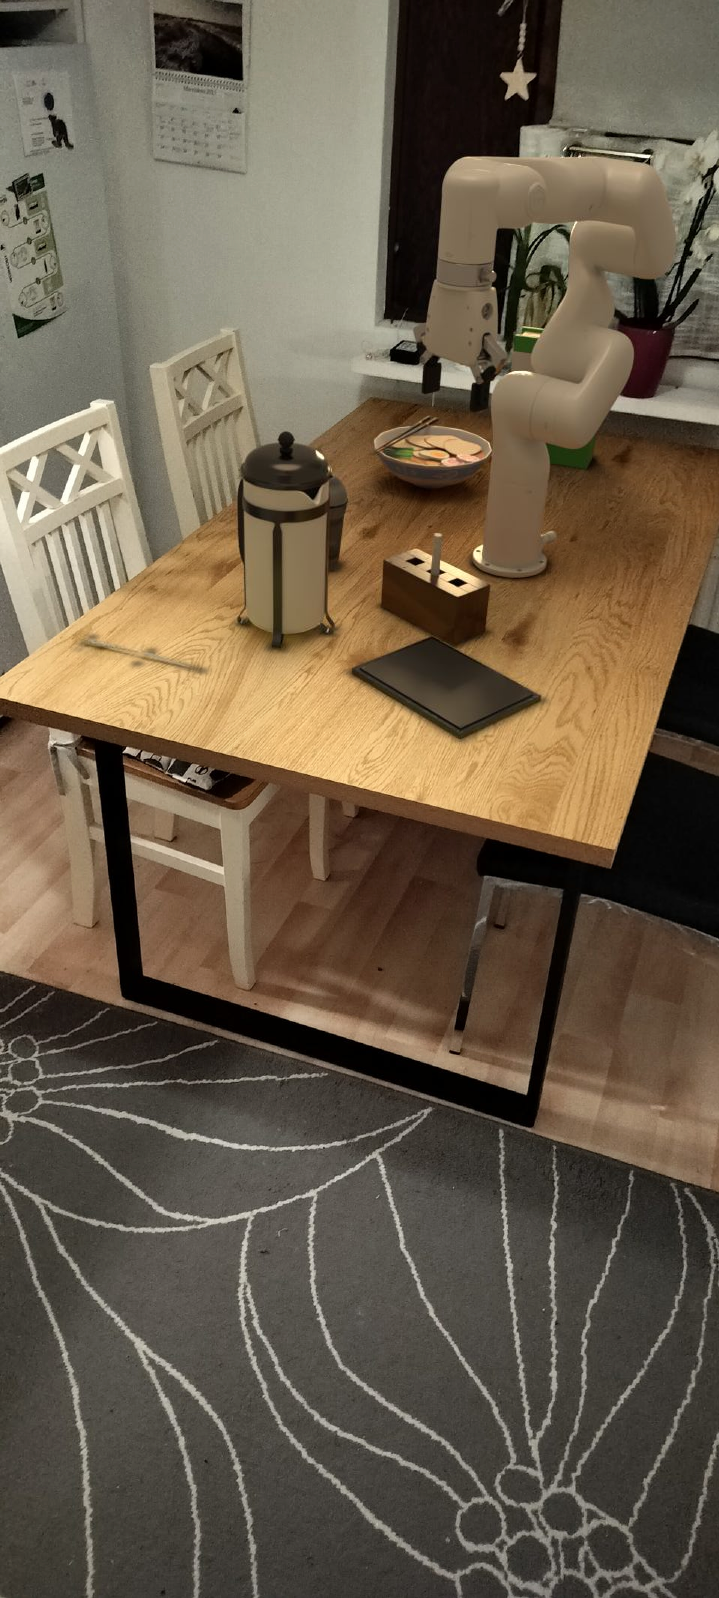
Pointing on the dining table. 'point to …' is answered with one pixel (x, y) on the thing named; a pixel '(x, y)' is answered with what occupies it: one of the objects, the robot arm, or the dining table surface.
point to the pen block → (435, 596)
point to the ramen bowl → (431, 453)
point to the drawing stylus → (436, 554)
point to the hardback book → (523, 363)
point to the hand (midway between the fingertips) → (454, 400)
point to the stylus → (99, 643)
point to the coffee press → (285, 537)
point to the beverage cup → (336, 518)
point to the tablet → (446, 686)
